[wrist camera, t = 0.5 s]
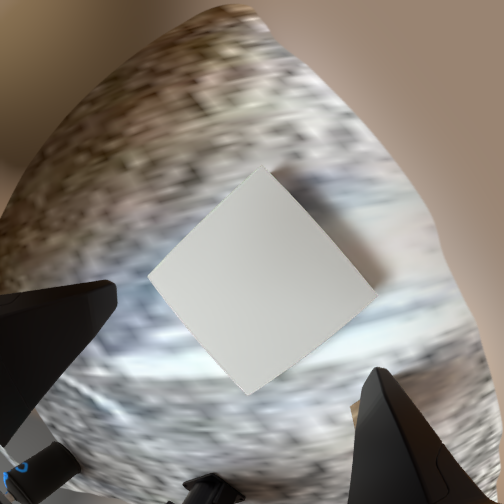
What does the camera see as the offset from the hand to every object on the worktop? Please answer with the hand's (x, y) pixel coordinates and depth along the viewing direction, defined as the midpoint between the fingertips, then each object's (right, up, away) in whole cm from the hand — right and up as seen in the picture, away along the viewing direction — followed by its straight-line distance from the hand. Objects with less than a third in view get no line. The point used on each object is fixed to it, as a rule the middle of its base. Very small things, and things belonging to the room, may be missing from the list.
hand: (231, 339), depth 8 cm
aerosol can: (-36, -38, +25) cm, 58 cm away
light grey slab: (+1, 0, +17) cm, 17 cm away
